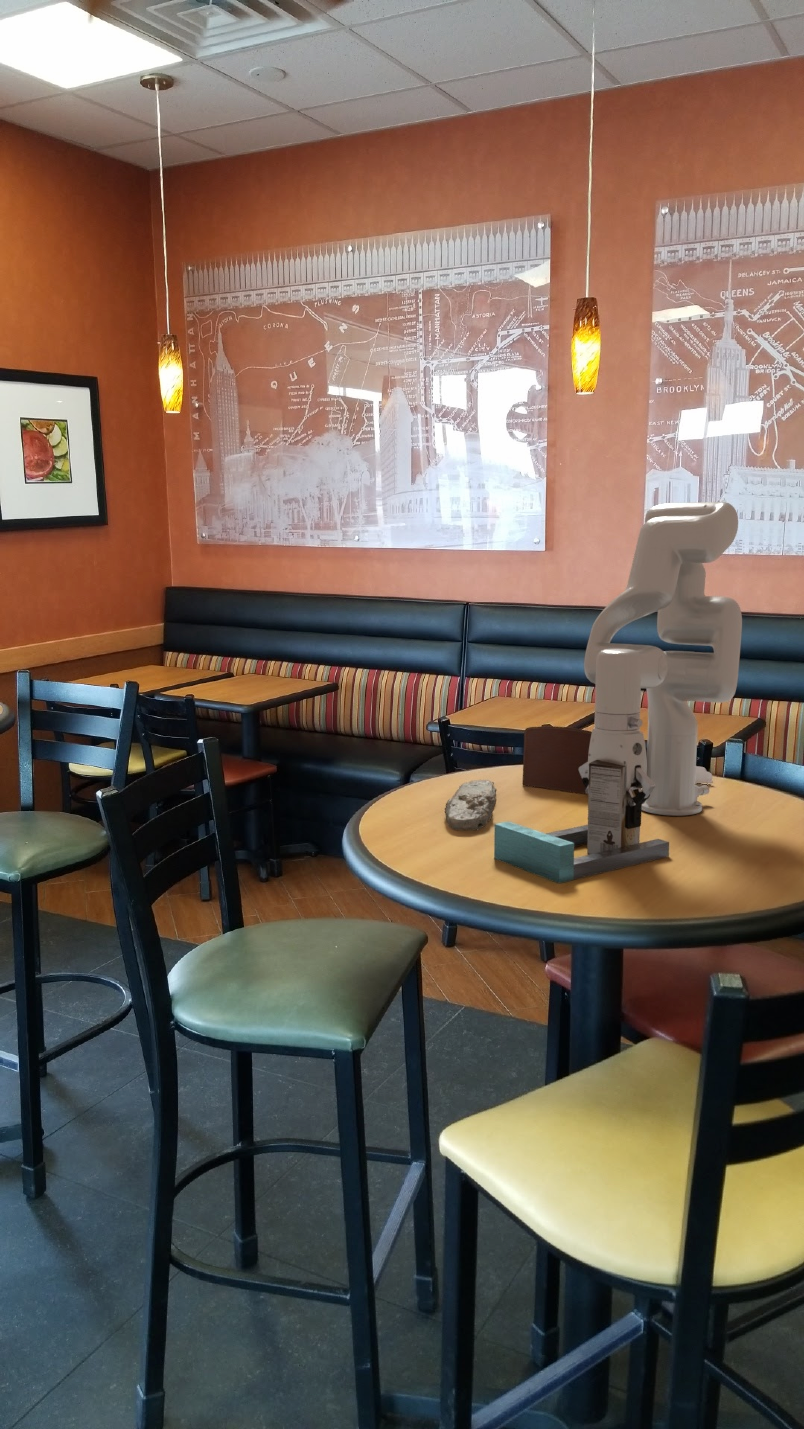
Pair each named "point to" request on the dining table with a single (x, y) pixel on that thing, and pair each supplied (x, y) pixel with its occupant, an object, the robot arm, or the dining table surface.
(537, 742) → the letter holder
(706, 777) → the car cutout
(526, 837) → the keeper channel
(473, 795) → the elongated rock
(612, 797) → the coffee box
